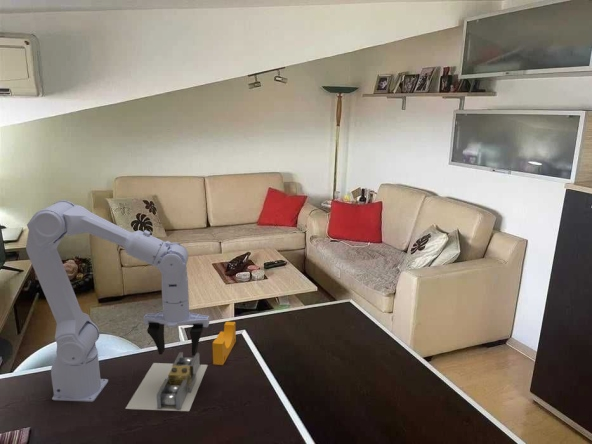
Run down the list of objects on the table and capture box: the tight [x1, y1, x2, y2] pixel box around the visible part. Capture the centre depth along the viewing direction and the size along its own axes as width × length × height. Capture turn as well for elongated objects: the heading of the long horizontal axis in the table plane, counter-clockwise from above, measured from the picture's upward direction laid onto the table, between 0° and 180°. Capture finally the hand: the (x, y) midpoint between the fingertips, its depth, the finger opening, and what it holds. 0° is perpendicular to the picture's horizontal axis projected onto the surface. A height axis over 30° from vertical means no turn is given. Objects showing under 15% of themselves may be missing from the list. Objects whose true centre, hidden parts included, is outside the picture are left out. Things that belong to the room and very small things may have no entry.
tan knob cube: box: [168, 365, 191, 388], centre depth 106 cm, size 4×4×4 cm
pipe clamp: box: [212, 321, 237, 366], centre depth 121 cm, size 12×4×6 cm, turn 172°
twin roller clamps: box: [157, 351, 201, 410], centre depth 106 cm, size 6×18×4 cm, turn 178°
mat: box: [125, 362, 209, 412], centre depth 107 cm, size 14×18×1 cm
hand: (178, 352), depth 105 cm, fingers open, 7 cm apart
